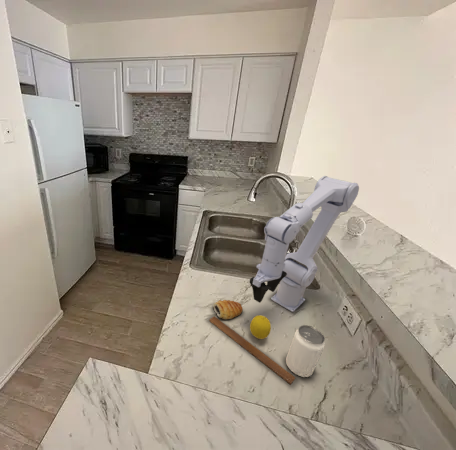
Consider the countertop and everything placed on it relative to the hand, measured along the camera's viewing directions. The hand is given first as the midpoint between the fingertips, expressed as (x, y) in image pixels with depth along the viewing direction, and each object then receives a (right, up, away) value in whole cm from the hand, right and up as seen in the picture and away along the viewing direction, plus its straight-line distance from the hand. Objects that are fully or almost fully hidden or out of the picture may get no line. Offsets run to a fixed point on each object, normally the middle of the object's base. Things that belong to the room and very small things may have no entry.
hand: (264, 295), depth 78 cm
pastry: (-10, -7, +6) cm, 14 cm away
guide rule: (-7, -13, -6) cm, 16 cm away
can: (+5, -16, -11) cm, 20 cm away
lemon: (-3, -12, -3) cm, 13 cm away
